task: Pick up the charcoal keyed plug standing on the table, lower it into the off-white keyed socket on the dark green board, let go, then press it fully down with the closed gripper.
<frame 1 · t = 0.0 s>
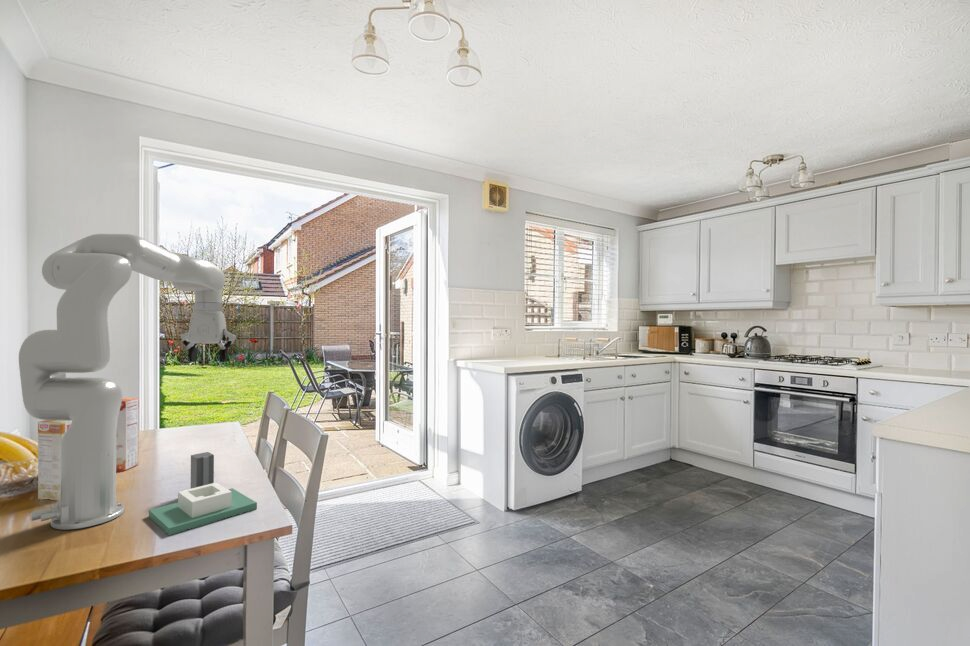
hand: (208, 361, 149), 31 cm above the table, tool pointing down, fingers open, 9 cm apart
plug: (202, 493, 119), on the table
cracker box: (108, 469, 137), on the table
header: (204, 499, 107), on the board, point 3 cm above the table
coffeecake box: (78, 490, 121), on the table
board: (204, 512, 108), on the table
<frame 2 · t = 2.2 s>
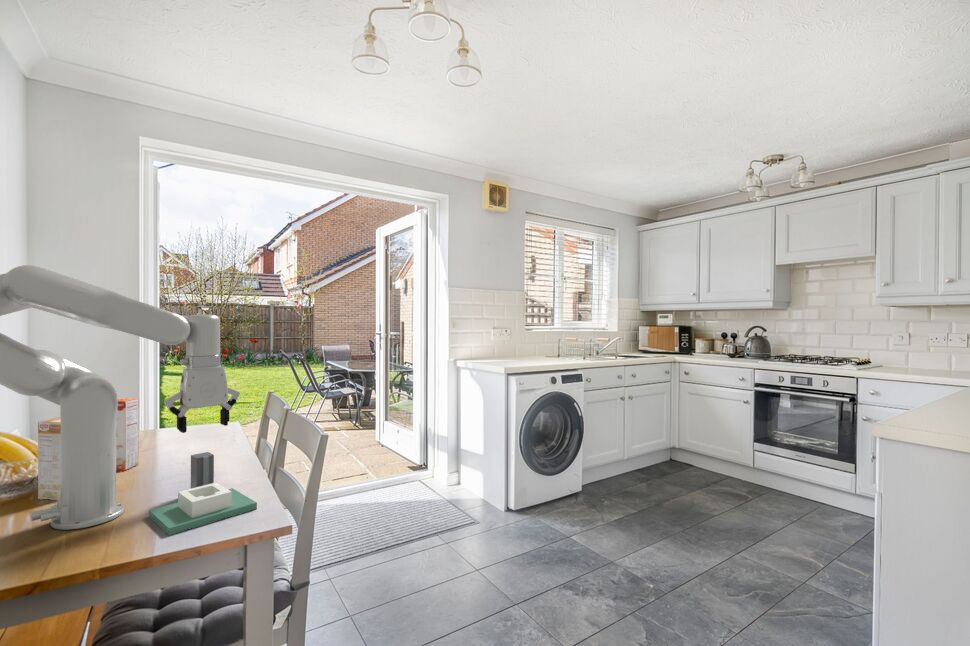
hand: (204, 428, 119), 17 cm above the table, tool pointing down, fingers open, 9 cm apart
nothing on the table moved.
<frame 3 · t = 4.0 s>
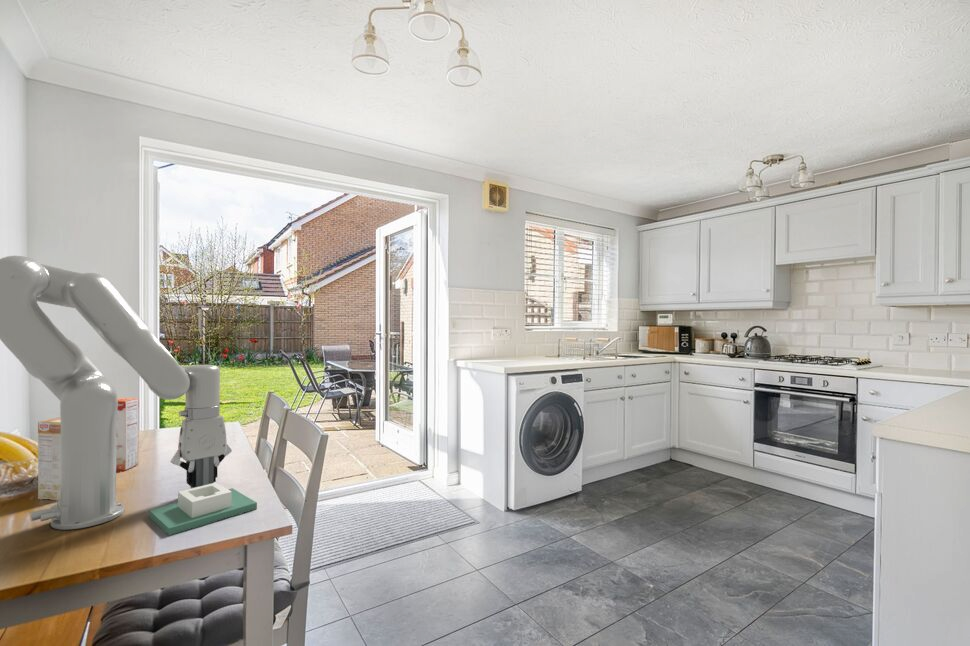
hand: (202, 482, 119), 3 cm above the table, tool pointing down, fingers closed on plug, 4 cm apart
plug: (202, 493, 119), on the table, touching gripper
everything else where it was.
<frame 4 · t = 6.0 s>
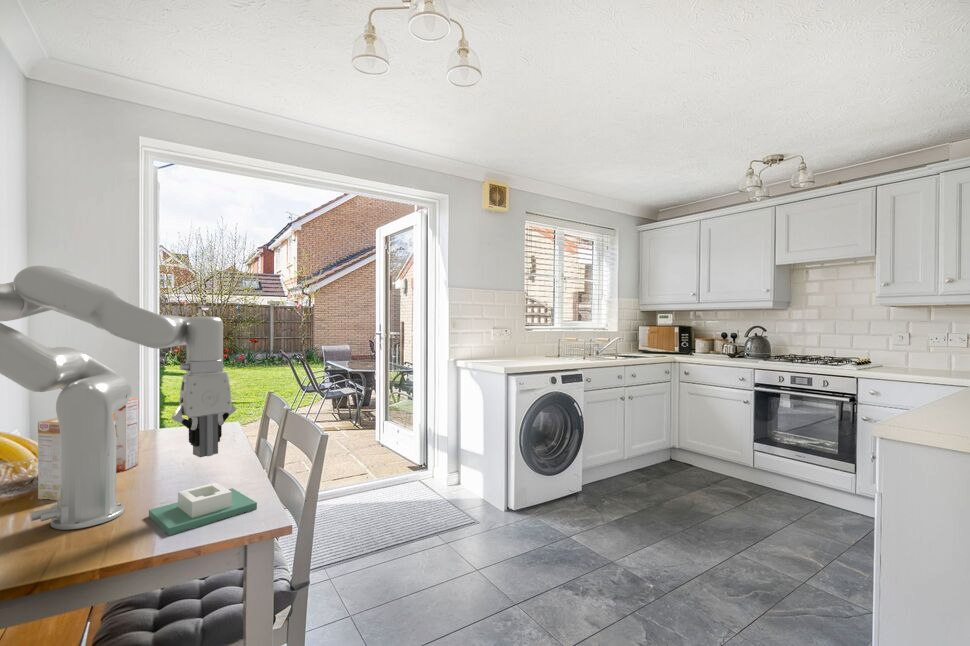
hand: (205, 442, 111), 15 cm above the table, tool pointing down, fingers closed on plug, 4 cm apart
plug: (205, 453, 111), point 13 cm above the table, touching gripper
everything else where it was.
when the fingers open (6 cm above the table, at t = 8.0 s): plug drops 1 cm, resting on board.
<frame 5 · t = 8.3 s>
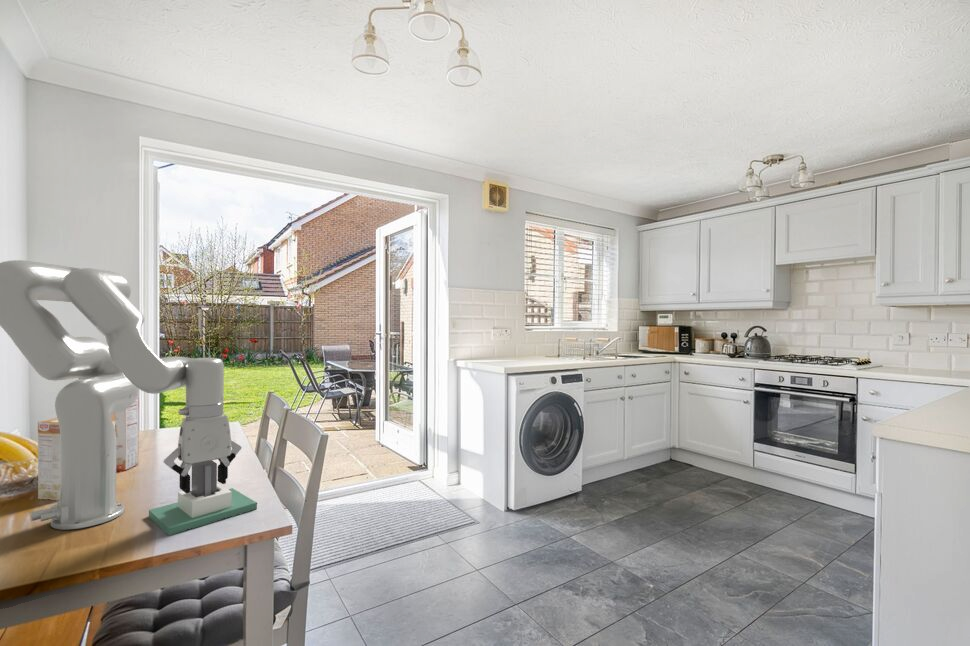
hand: (204, 486, 108), 6 cm above the table, tool pointing down, fingers open, 7 cm apart
plug: (204, 506, 108), point 1 cm above the table, touching board
everything else where it was.
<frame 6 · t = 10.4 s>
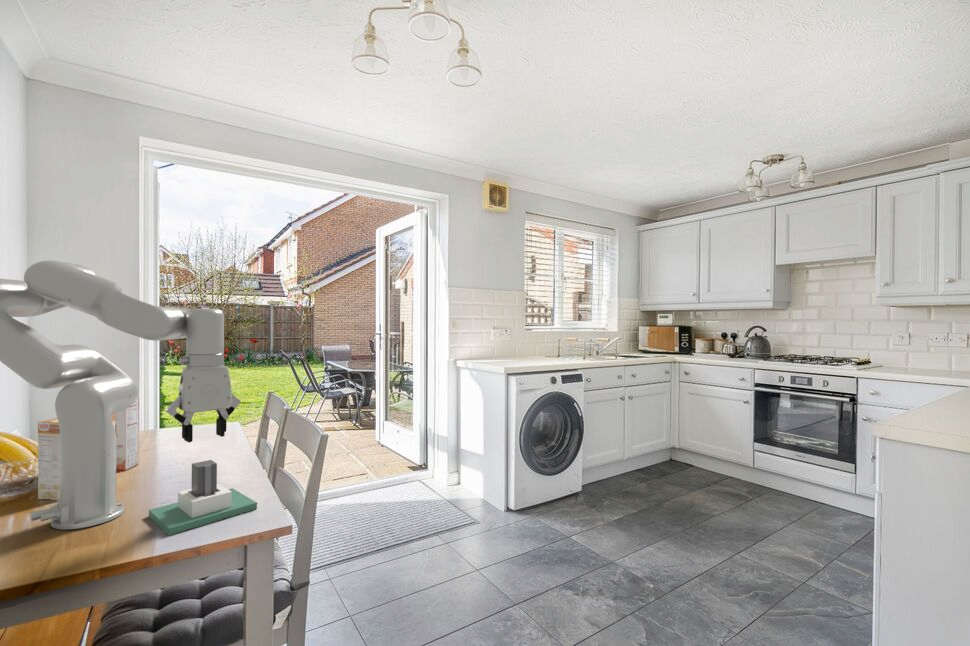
hand: (204, 437, 107), 18 cm above the table, tool pointing down, fingers open, 6 cm apart
nothing on the table moved.
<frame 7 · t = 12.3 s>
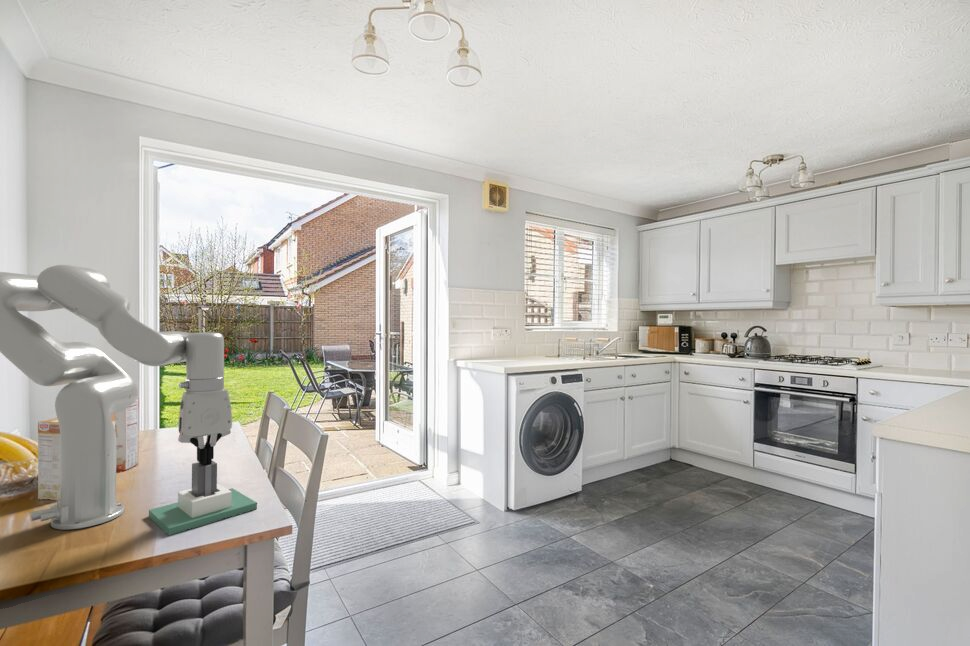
hand: (205, 463, 108), 12 cm above the table, tool pointing down, fingers closed
plug: (204, 506, 108), point 2 cm above the table, touching board, gripper
everything else where it was.
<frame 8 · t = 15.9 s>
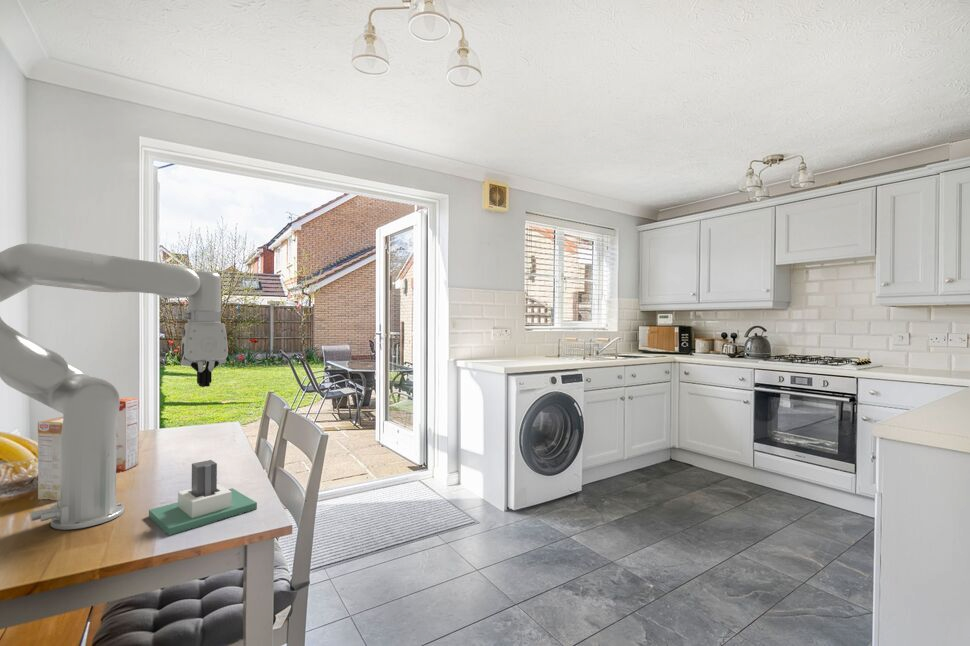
hand: (204, 386, 123), 27 cm above the table, tool pointing down, fingers closed
plug: (204, 506, 108), point 1 cm above the table, touching board
everything else where it was.
at the end: plug 0.0 cm off-centre on the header, point 1.5 cm above the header's base; plug tilted 0°; the gripper is holding nothing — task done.
